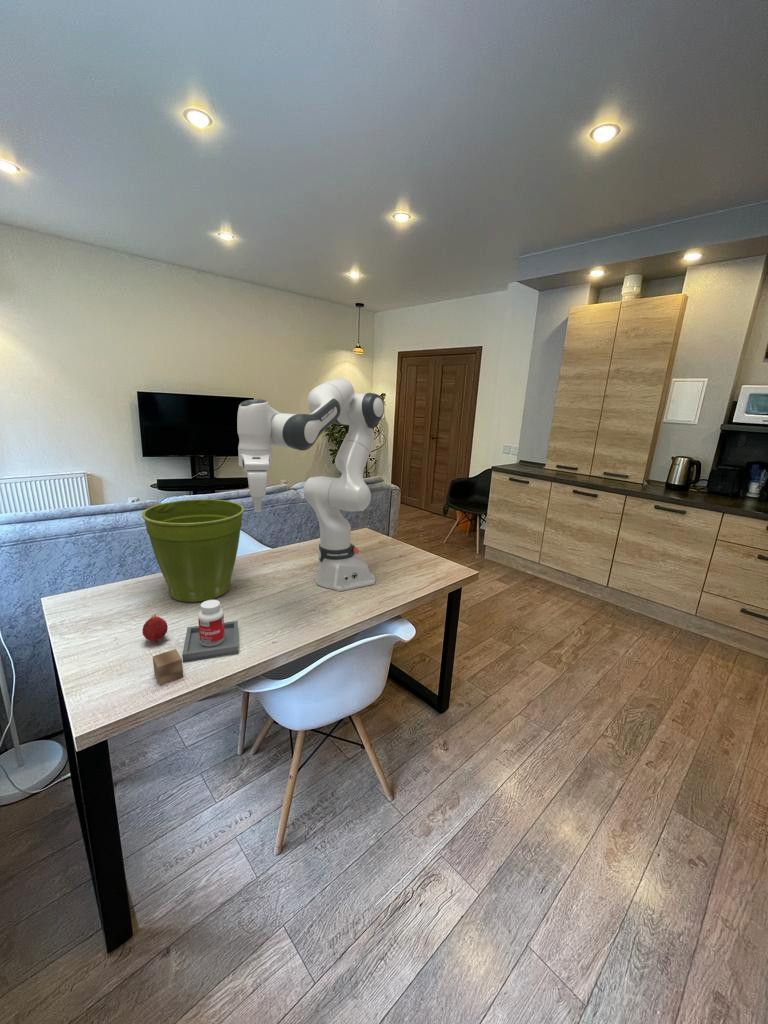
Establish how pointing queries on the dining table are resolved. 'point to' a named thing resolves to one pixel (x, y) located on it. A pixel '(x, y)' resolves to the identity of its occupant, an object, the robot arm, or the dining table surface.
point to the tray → (198, 651)
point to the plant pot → (195, 545)
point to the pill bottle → (211, 623)
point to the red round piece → (154, 628)
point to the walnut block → (168, 667)
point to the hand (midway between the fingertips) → (256, 507)
